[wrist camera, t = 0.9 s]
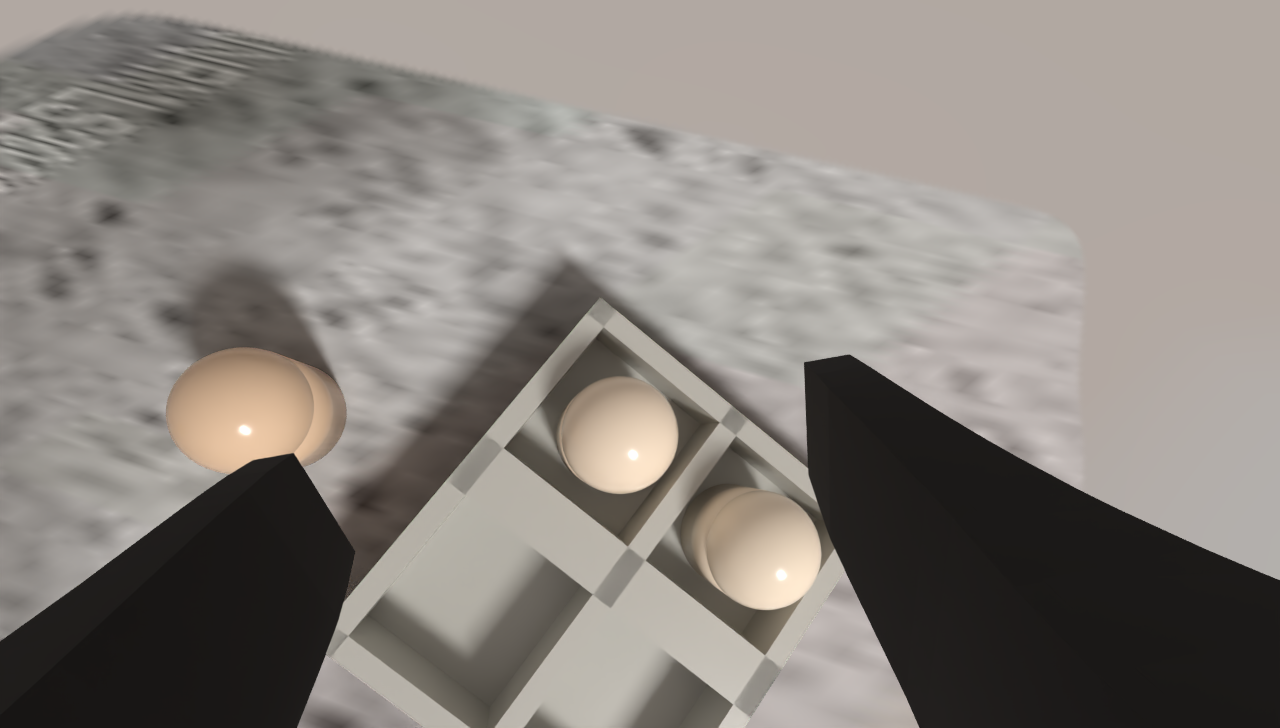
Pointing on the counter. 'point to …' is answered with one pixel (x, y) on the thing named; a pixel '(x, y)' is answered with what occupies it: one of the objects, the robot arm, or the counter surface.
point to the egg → (253, 409)
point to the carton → (578, 571)
